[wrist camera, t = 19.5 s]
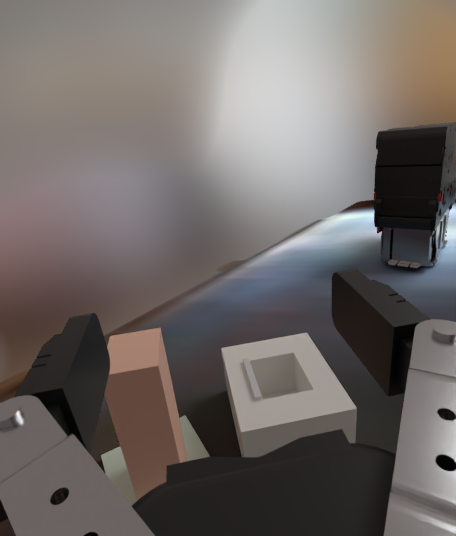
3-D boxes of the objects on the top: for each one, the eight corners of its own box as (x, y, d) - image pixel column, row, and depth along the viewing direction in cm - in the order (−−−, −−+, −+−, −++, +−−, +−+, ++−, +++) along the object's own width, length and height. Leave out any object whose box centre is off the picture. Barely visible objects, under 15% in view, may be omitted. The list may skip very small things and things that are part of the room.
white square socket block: (227, 390, 43) (220, 345, 40) (307, 374, 44) (306, 329, 41) (247, 482, 32) (240, 428, 29) (354, 458, 33) (356, 404, 30)
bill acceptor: (451, 239, 79) (468, 116, 69) (430, 279, 63) (449, 126, 53) (399, 234, 85) (409, 120, 75) (368, 270, 69) (375, 131, 59)
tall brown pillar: (144, 459, 34) (110, 336, 29) (186, 451, 35) (160, 327, 29) (140, 511, 30) (99, 376, 24) (188, 501, 30) (158, 365, 25)
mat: (186, 419, 39) (185, 415, 39) (242, 513, 29) (241, 509, 29) (102, 459, 35) (101, 455, 35) (134, 583, 26) (132, 578, 25)
